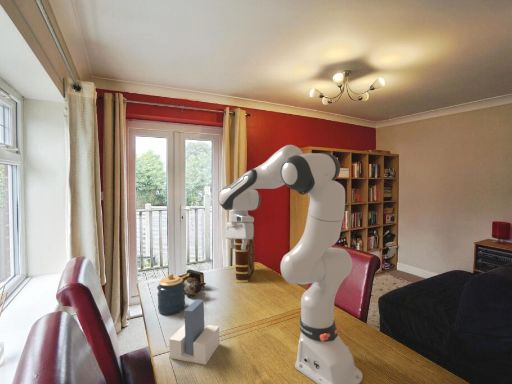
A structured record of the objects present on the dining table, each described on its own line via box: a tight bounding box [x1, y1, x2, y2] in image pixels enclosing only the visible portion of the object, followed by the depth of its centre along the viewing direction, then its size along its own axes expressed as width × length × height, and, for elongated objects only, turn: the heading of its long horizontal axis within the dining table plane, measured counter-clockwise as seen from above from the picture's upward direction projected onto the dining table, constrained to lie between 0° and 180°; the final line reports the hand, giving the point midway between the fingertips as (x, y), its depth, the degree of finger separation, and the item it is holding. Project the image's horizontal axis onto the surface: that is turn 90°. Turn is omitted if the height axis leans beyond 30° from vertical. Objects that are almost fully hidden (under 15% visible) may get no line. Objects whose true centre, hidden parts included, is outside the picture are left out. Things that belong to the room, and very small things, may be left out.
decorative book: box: [234, 233, 255, 284], centre depth 175 cm, size 22×8×30 cm, turn 168°
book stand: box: [169, 323, 221, 366], centre depth 100 cm, size 14×12×7 cm
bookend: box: [177, 269, 207, 297], centre depth 152 cm, size 15×11×25 cm
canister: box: [156, 273, 186, 316], centre depth 133 cm, size 13×13×18 cm
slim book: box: [183, 299, 206, 355], centre depth 100 cm, size 3×9×16 cm, turn 164°
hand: (237, 249), depth 123 cm, fingers open, 8 cm apart
